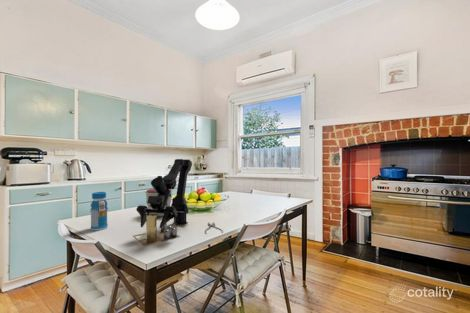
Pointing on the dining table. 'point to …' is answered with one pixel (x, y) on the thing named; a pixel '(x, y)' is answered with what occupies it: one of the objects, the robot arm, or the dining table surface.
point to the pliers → (212, 226)
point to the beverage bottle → (99, 211)
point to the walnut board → (143, 238)
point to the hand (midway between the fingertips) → (150, 227)
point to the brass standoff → (151, 228)
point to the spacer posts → (169, 231)
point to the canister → (152, 193)
